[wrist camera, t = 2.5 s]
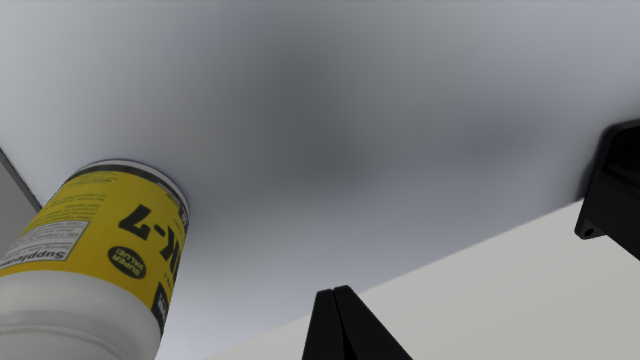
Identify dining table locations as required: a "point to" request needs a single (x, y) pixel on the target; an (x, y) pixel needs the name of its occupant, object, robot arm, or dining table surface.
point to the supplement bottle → (94, 268)
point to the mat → (13, 205)
